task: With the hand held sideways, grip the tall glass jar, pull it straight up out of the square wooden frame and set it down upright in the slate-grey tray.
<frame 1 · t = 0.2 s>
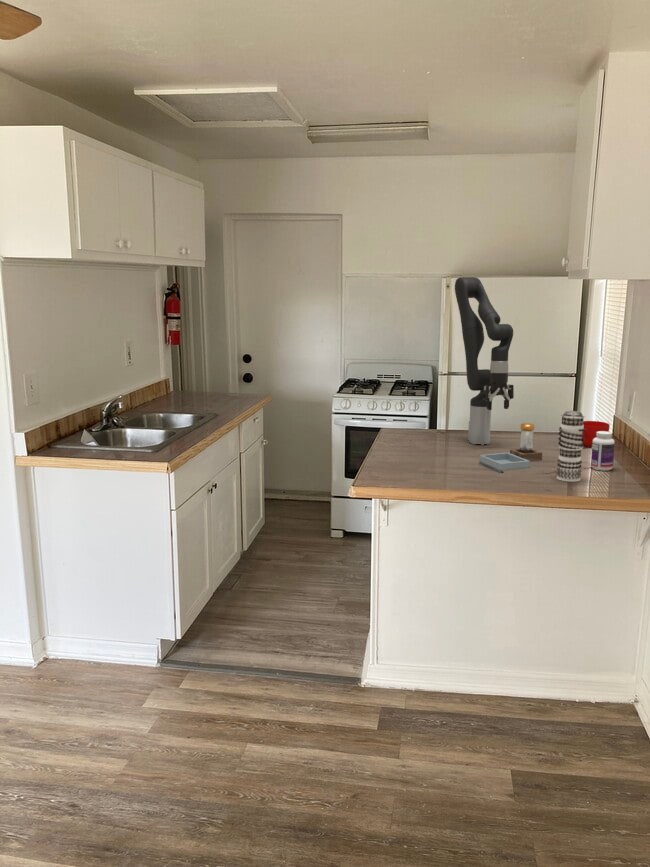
hand: (497, 409, 305), 18 cm above the table, tool pointing down, fingers open, 8 cm apart
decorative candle: (568, 479, 263), on the table
tray: (504, 466, 280), on the table
ceramic cup: (589, 446, 314), on the table
pill bottle: (601, 469, 277), on the table
glass jar: (525, 458, 289), point 1 cm above the table, touching square wooden frame
square wooden frame: (525, 460, 289), on the table
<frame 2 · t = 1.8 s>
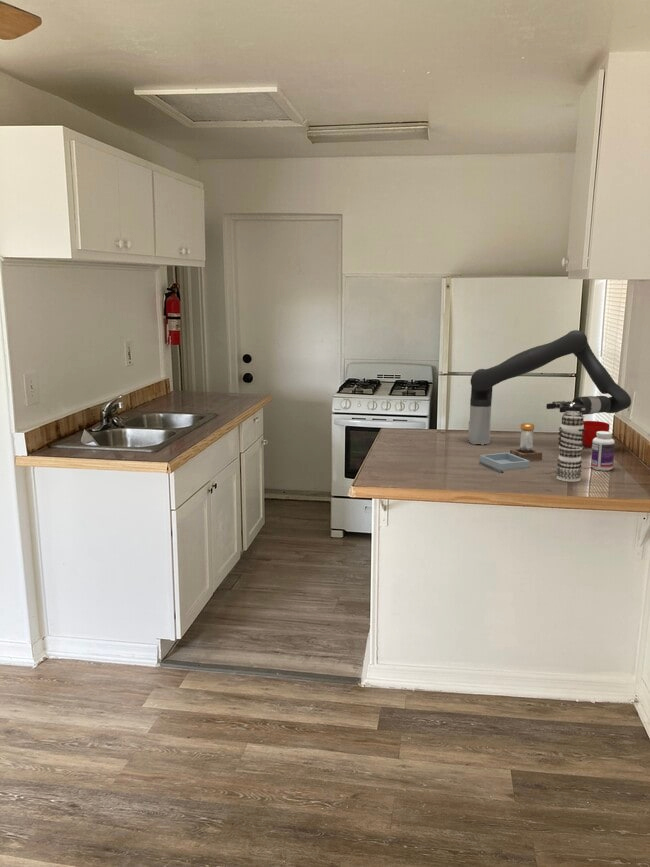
hand: (553, 408, 289), 21 cm above the table, tool horizontal, fingers open, 8 cm apart
nothing on the table moved.
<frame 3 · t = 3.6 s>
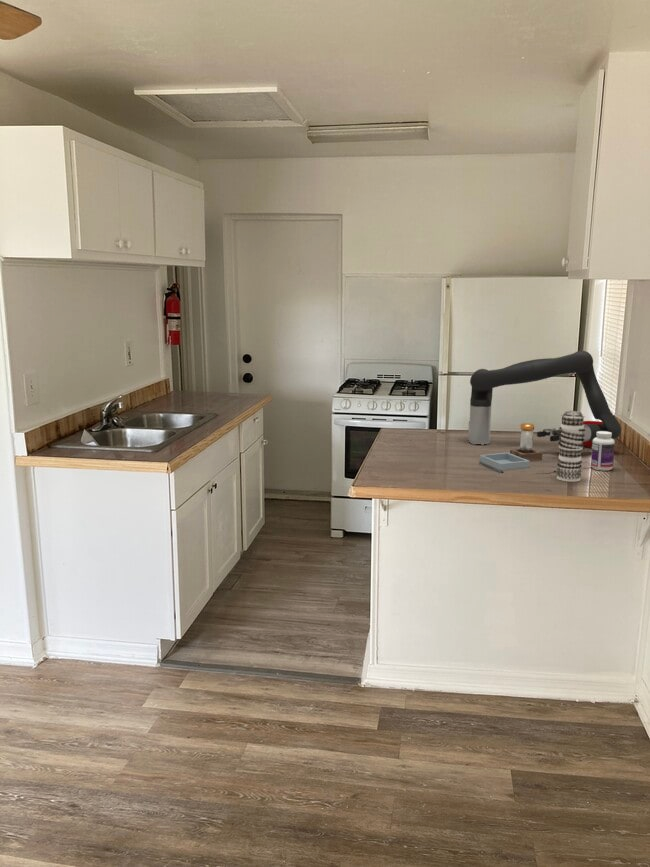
hand: (543, 436, 290), 9 cm above the table, tool horizontal, fingers open, 8 cm apart
nothing on the table moved.
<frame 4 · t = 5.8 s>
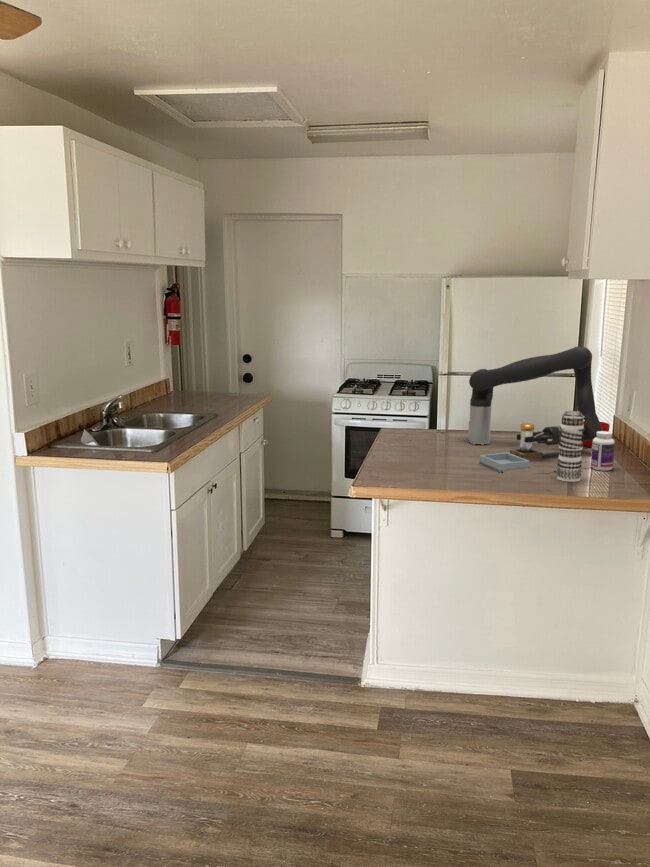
hand: (521, 438, 286), 10 cm above the table, tool horizontal, fingers closed on glass jar, 4 cm apart
glass jar: (525, 458, 289), point 1 cm above the table, touching gripper, square wooden frame
everything else where it was.
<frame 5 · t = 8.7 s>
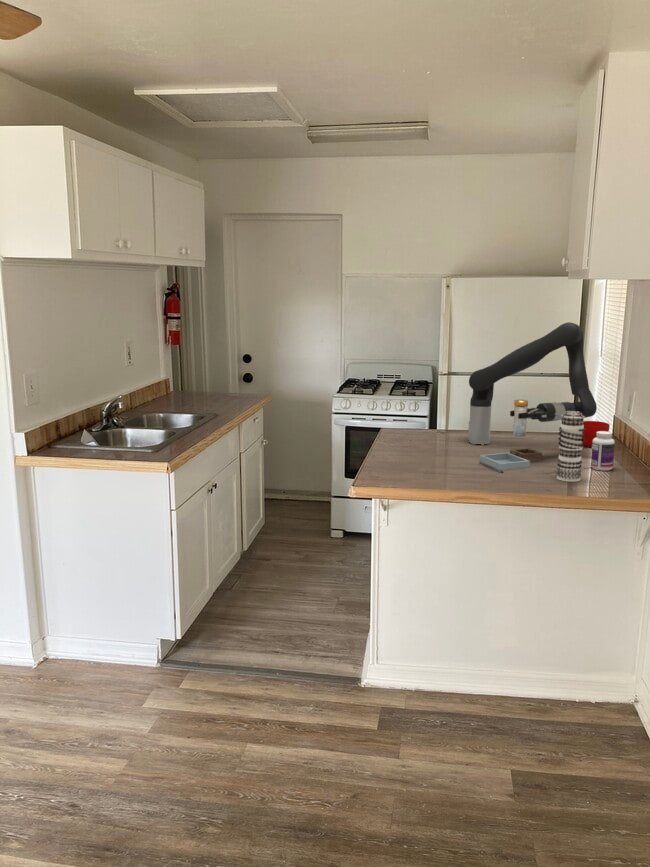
hand: (514, 414, 281), 20 cm above the table, tool horizontal, fingers closed on glass jar, 4 cm apart
glass jar: (519, 435, 283), point 11 cm above the table, touching gripper
everything else where it was.
when the fingers open (10 cm above the table, at t = 11.6 s): glass jar stays where it is, resting on tray.
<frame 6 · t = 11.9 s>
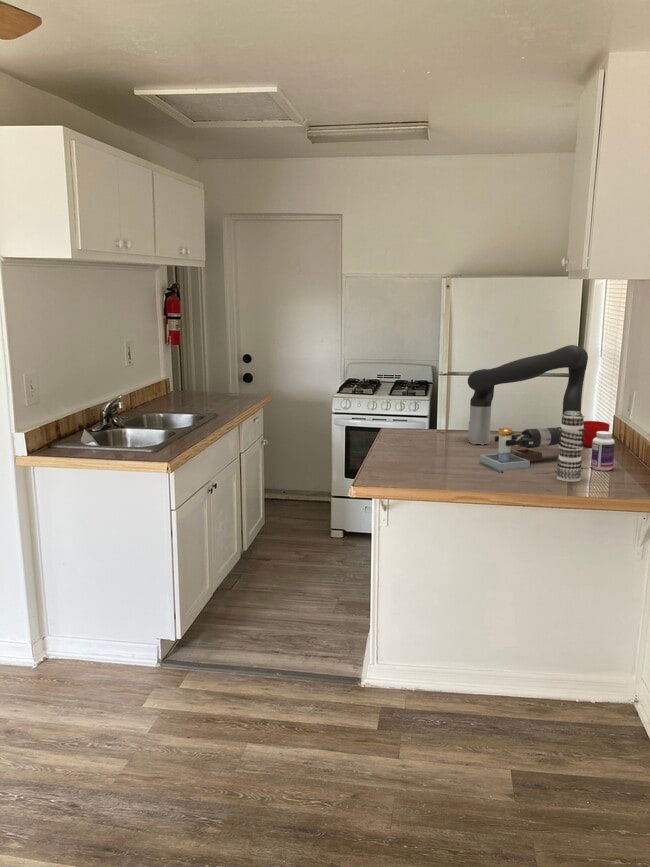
hand: (500, 441, 277), 10 cm above the table, tool horizontal, fingers open, 7 cm apart
glass jar: (504, 464, 280), point 1 cm above the table, touching tray
everything else where it was.
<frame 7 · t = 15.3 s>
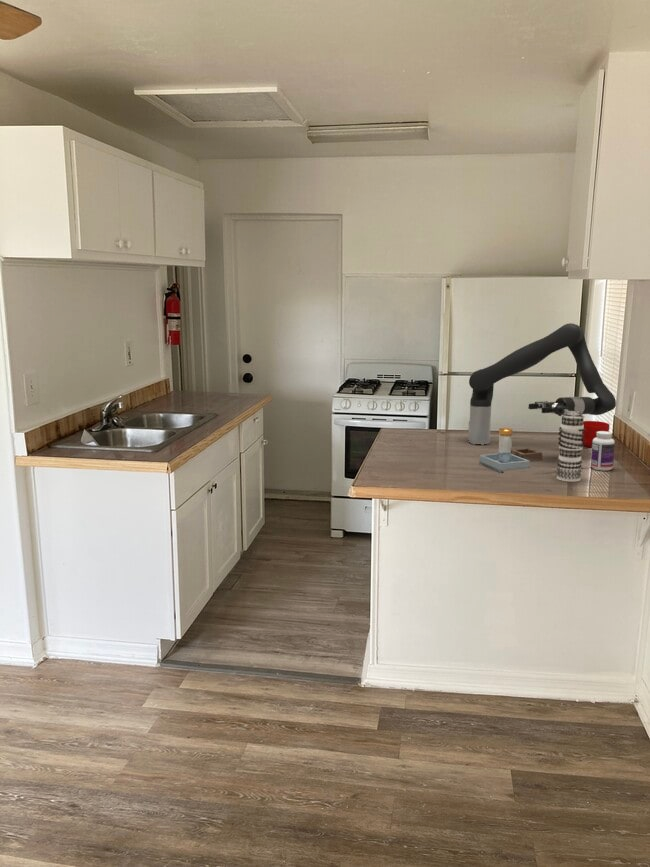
hand: (535, 408, 280), 22 cm above the table, tool horizontal, fingers open, 8 cm apart
nothing on the table moved.
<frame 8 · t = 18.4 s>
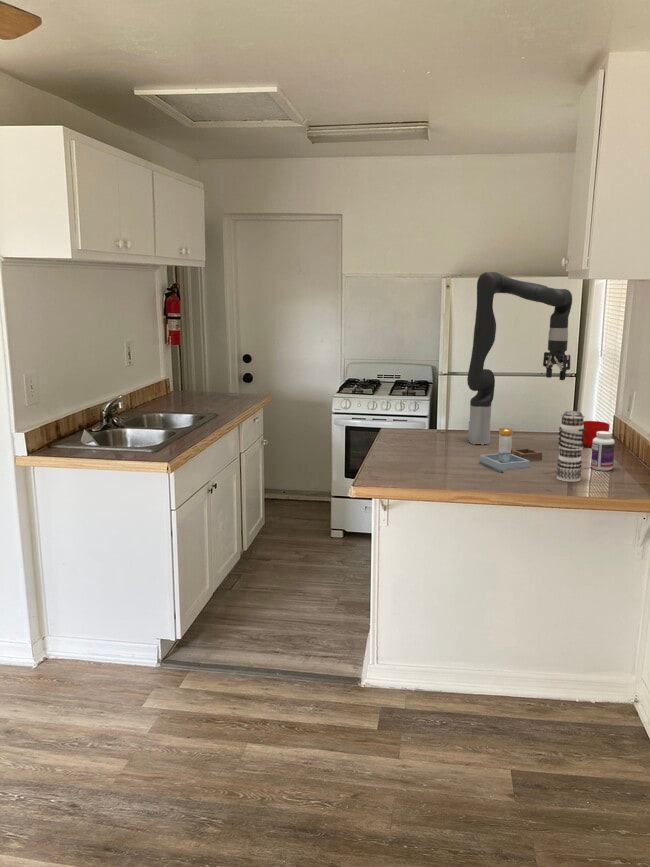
hand: (555, 378, 293), 32 cm above the table, tool pointing down, fingers open, 8 cm apart
nothing on the table moved.
at the end: glass jar inside the target area on the tray (0.1 cm from its centre), point 1.0 cm above the tray's base; glass jar tilted 0°; the gripper is holding nothing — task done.
